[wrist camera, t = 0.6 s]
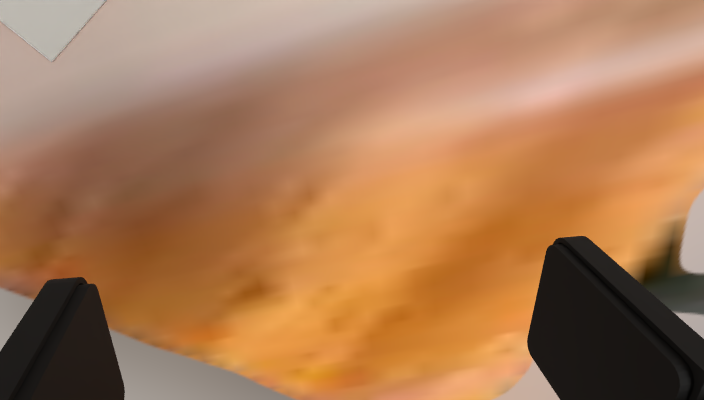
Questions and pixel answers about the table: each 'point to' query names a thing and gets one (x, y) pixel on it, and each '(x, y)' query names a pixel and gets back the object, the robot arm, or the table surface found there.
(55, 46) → the mat
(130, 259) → the table surface
